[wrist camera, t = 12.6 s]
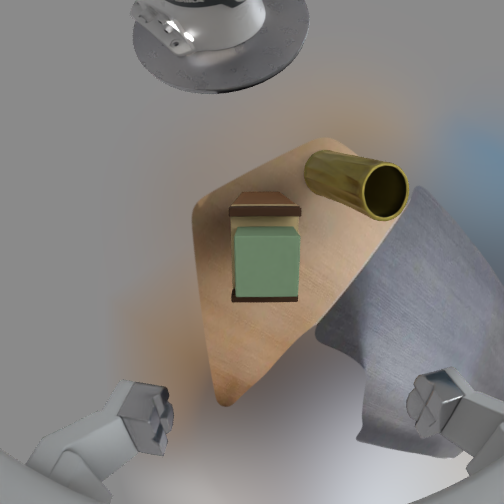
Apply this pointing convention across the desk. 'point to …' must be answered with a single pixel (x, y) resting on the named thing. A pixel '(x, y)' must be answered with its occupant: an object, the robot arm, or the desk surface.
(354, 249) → the desk surface
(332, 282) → the desk surface
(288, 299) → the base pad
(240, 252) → the green pad
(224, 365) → the desk surface
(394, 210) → the vase
